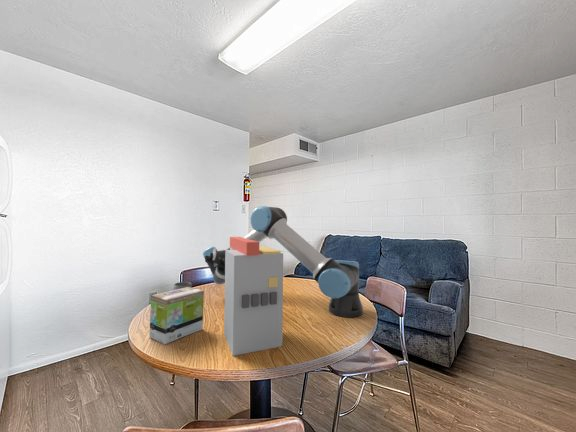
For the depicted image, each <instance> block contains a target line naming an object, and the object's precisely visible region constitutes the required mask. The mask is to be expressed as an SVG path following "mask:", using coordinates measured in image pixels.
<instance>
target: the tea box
mask: <svg viewBox="0 0 576 432" xmlns="http://www.w3.org/2000/svg"><path fill="white" fill-rule="evenodd" d="M204 292H205V290H202V289H198V288H193V287H192V288H190V287H186V288H181V289H177V290H169V291H164V292H160V293H156V294H152V295H151V297H150V312H149V313H150V315H149V335H148V336H149V338H150V339H153V340H154V341H157V342H159V343H161V344H164V345H168V344H169V343H171V342H174V341H176V340H179V339H181V338H185V337H186V336H188V335H191V334H194V333H196V332H199V331H202V330H203V327H204V325H203V324H204V323H203V322H204V302H205V301H204V299H205V297H204V295H205V293H204Z"/></svg>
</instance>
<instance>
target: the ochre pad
mask: <svg viewBox="0 0 576 432" xmlns="http://www.w3.org/2000/svg"><path fill="white" fill-rule="evenodd" d="M259 253H261V254H281V253H282V252H281V250H277V249H275V248H271V247H267V246H259Z"/></svg>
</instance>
